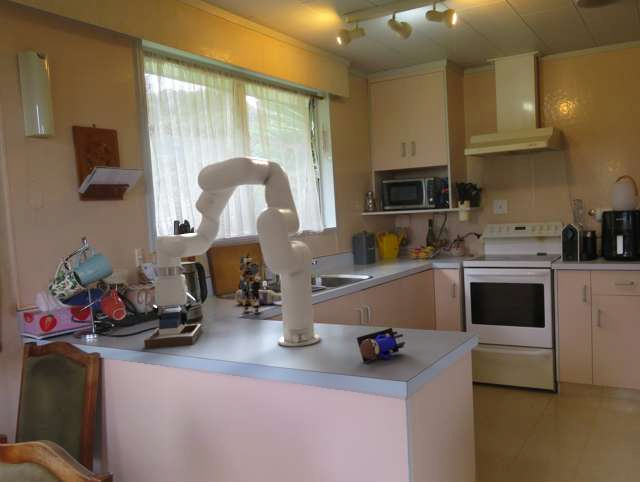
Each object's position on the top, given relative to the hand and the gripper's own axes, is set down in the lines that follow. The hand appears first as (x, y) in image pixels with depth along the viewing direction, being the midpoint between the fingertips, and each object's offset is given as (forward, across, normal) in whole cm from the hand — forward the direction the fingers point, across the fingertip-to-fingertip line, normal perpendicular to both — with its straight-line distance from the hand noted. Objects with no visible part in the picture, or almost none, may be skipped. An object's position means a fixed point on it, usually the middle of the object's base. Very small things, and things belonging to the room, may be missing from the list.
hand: (173, 324), depth 182 cm
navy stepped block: (+2, 0, +2) cm, 2 cm away
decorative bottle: (+5, -26, -59) cm, 65 cm away
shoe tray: (+5, 0, +1) cm, 5 cm away
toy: (+5, -24, -37) cm, 44 cm away
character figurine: (+5, -62, +49) cm, 79 cm away
